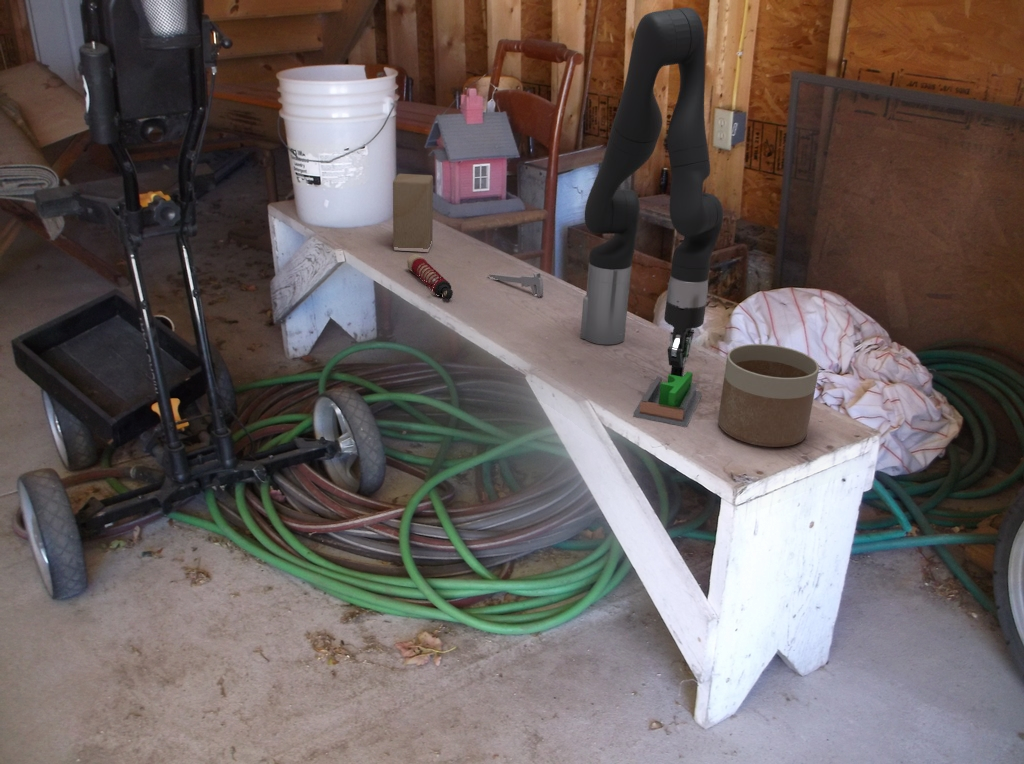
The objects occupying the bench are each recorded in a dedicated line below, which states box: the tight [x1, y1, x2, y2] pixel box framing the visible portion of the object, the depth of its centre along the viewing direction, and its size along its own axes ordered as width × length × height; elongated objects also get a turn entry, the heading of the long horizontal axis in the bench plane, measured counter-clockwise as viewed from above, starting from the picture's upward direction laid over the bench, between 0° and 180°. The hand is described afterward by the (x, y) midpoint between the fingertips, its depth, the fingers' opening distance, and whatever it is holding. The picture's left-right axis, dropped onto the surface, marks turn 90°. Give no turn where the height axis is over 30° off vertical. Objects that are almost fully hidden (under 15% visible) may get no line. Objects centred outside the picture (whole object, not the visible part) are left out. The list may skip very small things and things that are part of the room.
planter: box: [717, 343, 820, 448], centre depth 171 cm, size 16×16×14 cm
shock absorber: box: [406, 253, 454, 300], centre depth 241 cm, size 5×5×30 cm
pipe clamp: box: [659, 371, 693, 408], centre depth 180 cm, size 11×4×5 cm, turn 153°
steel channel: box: [632, 375, 703, 427], centre depth 180 cm, size 10×15×3 cm, turn 159°
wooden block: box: [392, 173, 434, 249], centre depth 267 cm, size 10×10×20 cm
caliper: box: [488, 272, 544, 298], centre depth 241 cm, size 20×1×6 cm, turn 42°
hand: (675, 381), depth 188 cm, fingers closed
